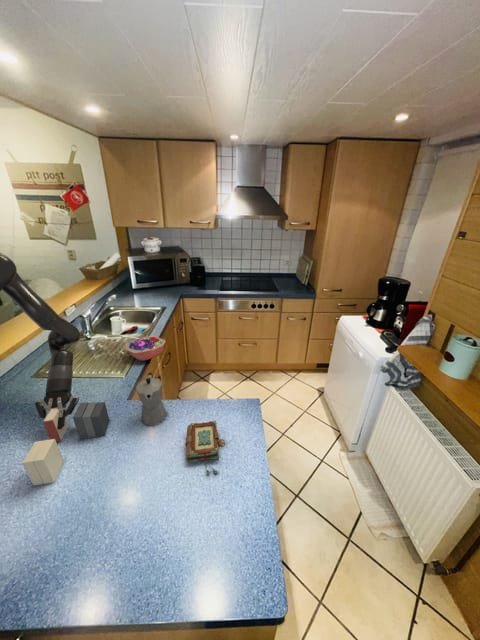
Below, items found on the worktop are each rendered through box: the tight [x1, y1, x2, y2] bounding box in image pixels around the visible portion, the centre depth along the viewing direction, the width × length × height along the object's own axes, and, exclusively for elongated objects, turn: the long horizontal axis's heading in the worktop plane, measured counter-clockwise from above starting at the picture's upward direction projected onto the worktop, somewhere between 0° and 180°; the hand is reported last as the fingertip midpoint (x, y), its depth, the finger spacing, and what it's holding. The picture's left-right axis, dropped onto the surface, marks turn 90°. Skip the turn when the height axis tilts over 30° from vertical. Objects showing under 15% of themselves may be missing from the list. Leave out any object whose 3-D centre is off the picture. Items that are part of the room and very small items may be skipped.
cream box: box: [21, 438, 64, 486], centre depth 75 cm, size 5×7×10 cm
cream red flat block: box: [42, 407, 69, 444], centre depth 87 cm, size 3×7×10 cm, turn 12°
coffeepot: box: [135, 372, 167, 426], centre depth 95 cm, size 15×9×18 cm, turn 16°
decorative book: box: [185, 420, 226, 476], centre depth 84 cm, size 13×18×5 cm
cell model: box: [125, 335, 166, 362], centre depth 134 cm, size 17×20×11 cm
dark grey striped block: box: [72, 401, 110, 440], centre depth 90 cm, size 8×7×10 cm
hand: (54, 429), depth 86 cm, fingers closed on cream red flat block, 2 cm apart
